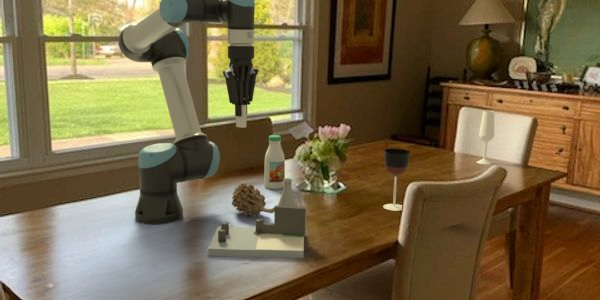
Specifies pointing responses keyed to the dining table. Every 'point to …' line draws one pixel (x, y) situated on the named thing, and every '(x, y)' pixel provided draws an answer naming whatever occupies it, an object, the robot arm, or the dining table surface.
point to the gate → (285, 221)
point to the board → (254, 243)
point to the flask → (287, 194)
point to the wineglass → (395, 169)
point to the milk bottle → (274, 164)
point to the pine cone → (249, 200)
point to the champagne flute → (486, 132)
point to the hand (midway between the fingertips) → (241, 126)
